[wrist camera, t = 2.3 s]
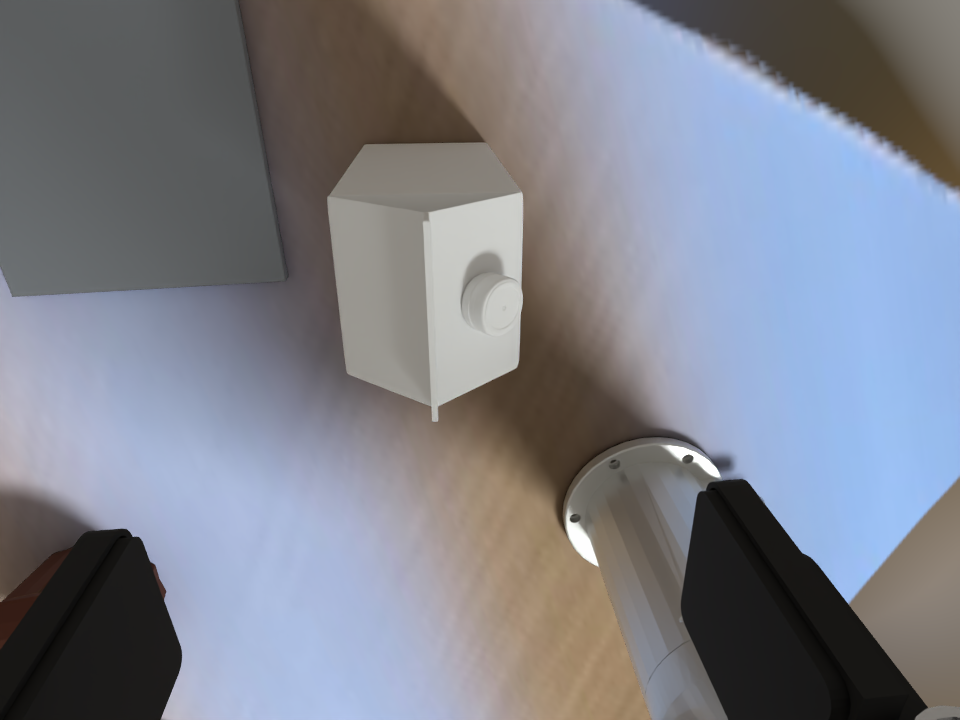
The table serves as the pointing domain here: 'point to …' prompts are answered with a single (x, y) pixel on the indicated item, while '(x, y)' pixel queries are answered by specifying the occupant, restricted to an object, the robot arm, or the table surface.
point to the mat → (131, 149)
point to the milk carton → (428, 268)
